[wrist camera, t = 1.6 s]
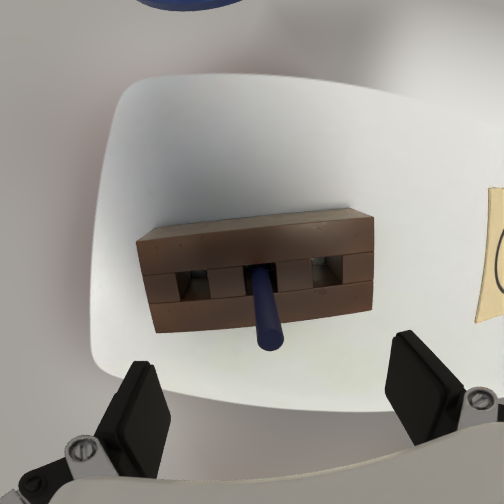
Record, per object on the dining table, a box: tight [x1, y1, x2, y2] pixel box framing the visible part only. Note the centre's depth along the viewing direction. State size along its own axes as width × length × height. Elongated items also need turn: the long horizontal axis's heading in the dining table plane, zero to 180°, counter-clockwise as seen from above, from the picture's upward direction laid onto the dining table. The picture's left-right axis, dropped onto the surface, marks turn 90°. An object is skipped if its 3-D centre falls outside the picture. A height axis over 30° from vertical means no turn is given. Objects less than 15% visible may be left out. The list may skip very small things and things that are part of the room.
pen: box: [251, 263, 284, 351], centre depth 19 cm, size 1×1×13 cm
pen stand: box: [136, 208, 374, 333], centre depth 23 cm, size 7×17×5 cm, turn 96°
